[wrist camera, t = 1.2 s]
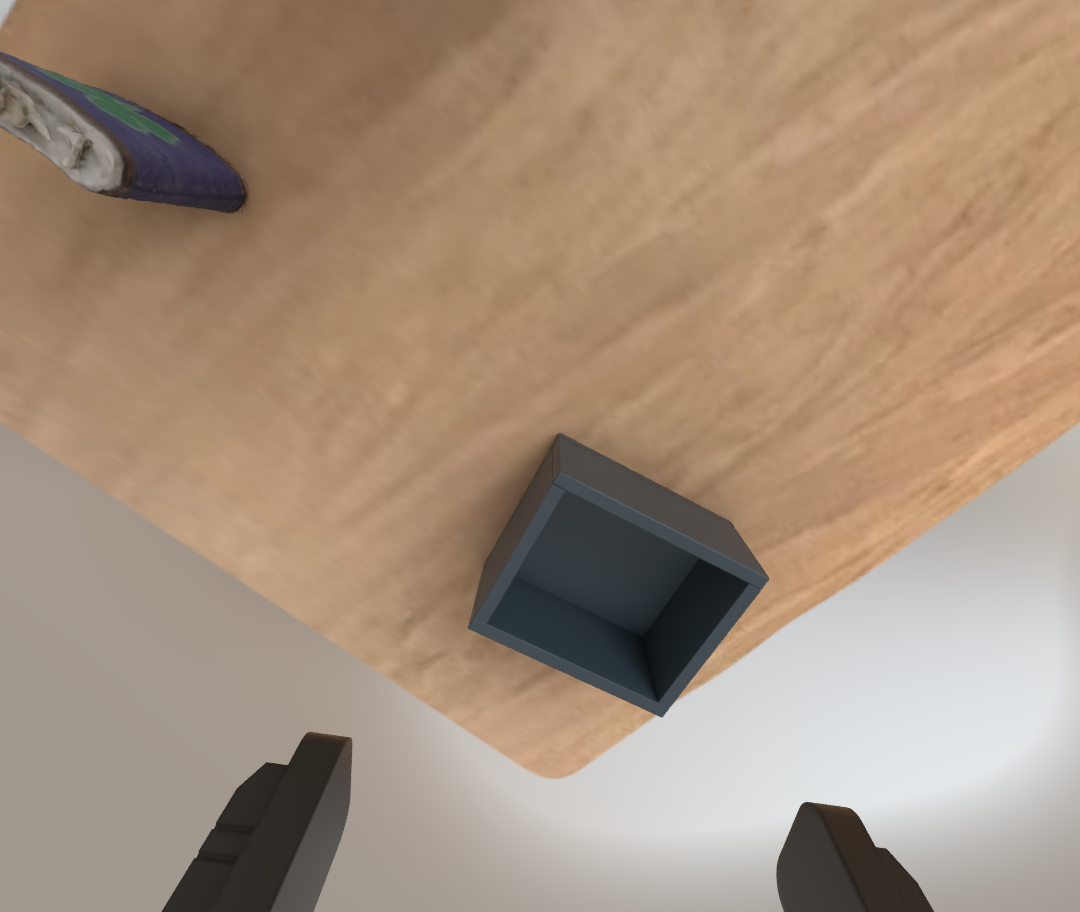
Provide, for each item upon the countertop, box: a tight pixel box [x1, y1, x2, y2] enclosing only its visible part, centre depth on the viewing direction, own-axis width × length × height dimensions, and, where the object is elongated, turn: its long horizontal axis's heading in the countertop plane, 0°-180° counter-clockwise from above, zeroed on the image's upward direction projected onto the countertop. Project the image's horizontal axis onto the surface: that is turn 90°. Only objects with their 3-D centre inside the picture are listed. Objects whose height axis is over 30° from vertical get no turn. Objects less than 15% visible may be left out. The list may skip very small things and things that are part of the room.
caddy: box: [468, 433, 769, 717], centre depth 33 cm, size 11×13×7 cm
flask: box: [0, 52, 248, 213], centre depth 24 cm, size 9×3×11 cm, turn 58°
